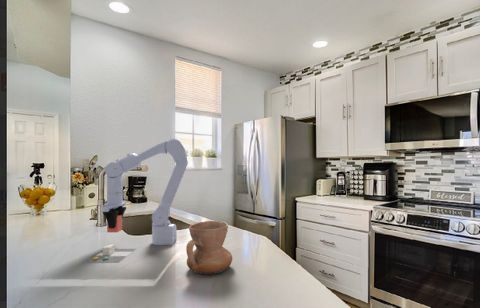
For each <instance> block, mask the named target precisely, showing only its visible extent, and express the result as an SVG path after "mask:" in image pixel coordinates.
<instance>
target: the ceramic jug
mask: <svg viewBox="0 0 480 308" xmlns="http://www.w3.org/2000/svg"><path fill="white" fill-rule="evenodd" d="M228 225H229V224H228V223H227V222H226V221H220V220H205V221H199V222H196V223H193V224H190V225H189V227H188V229H189V234H190V237H191V240H189V241H188V242H187V243H186V247H185V250H186V256H187V259H186V265H187V268H188V269H189V270H191V272H194V273H196V274H202V275H213V274H214V275H215V274H218V273H221V272H224V271H225V270H227V269H228V268H229V267H230V266H231V264H232V261H233V254H232V252H230V250H229V249H226V248H225V247H224V246H223V245H224V243H225V241H226V238H227V234H228V232H229V231H228V229H229V227H228ZM194 246H195V249H194Z"/></svg>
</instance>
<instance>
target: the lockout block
mask: <svg viewBox="0 0 480 308" xmlns="http://www.w3.org/2000/svg"><path fill="white" fill-rule="evenodd" d="M106 222H107V221H106ZM122 230H123V218H122V215H117V218H116V226H115V228H109V226H108V222H107V223H106V231H107V232H106V233H119V232H120V231H122Z"/></svg>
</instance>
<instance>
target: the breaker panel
mask: <svg viewBox="0 0 480 308" xmlns="http://www.w3.org/2000/svg"><path fill="white" fill-rule="evenodd" d="M136 250H137V248H115V252H113V253H112V254H111V255H103V250H102V251H99V253H96V254H95V255H93V256H91V257H90V258H89V259H87V260H85V261H84V262H82V263H83V264H107V263H108V264H110V263H111V264H113V263H114V264H118V263H120V262H121V261H123V260H124V259H126V257H128V256H129V255H131V254H132V253H133V252H135V251H136Z"/></svg>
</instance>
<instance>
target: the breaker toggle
mask: <svg viewBox="0 0 480 308" xmlns="http://www.w3.org/2000/svg"><path fill="white" fill-rule="evenodd" d="M115 249H116V248H115V243H114V244H112V243H111V244H110V243H109V244H106V245H105V246H103V247H102V251H103V255H111V254H112V253H113V252H115Z"/></svg>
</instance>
